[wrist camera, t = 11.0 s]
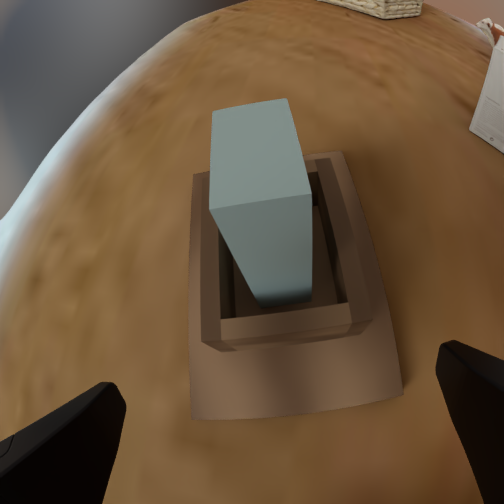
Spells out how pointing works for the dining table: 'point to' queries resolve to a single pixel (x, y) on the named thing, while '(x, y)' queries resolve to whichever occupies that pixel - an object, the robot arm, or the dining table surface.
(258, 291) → the pale blue rectangular block
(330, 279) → the board
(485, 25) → the bull figurine
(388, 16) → the storage basket
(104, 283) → the dining table surface
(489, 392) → the robot arm
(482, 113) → the small box
